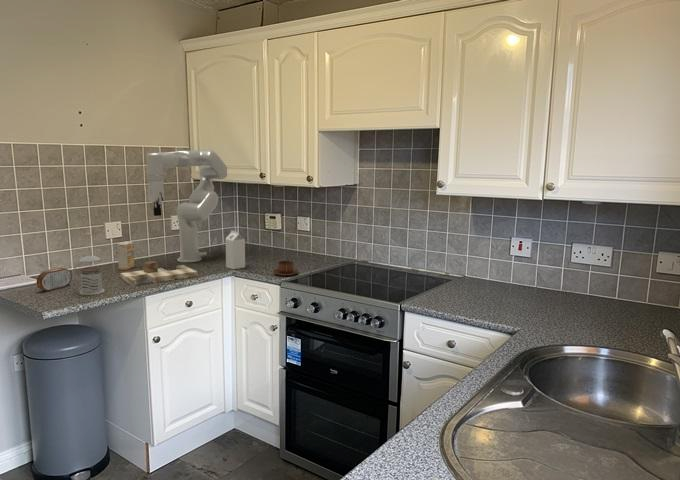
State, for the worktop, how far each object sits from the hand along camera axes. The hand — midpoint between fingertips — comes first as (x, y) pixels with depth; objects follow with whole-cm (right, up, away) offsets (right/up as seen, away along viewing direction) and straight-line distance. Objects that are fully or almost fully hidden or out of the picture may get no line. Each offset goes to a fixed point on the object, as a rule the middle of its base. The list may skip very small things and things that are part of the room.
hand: (157, 215), depth 249 cm
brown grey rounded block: (-30, -33, -36) cm, 57 cm away
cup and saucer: (+64, -29, -3) cm, 71 cm away
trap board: (+6, -30, -14) cm, 33 cm away
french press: (-14, -34, -40) cm, 54 cm away
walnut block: (+2, -27, -13) cm, 30 cm away
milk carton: (+37, -27, +10) cm, 47 cm away
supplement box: (-17, -27, +4) cm, 32 cm away
